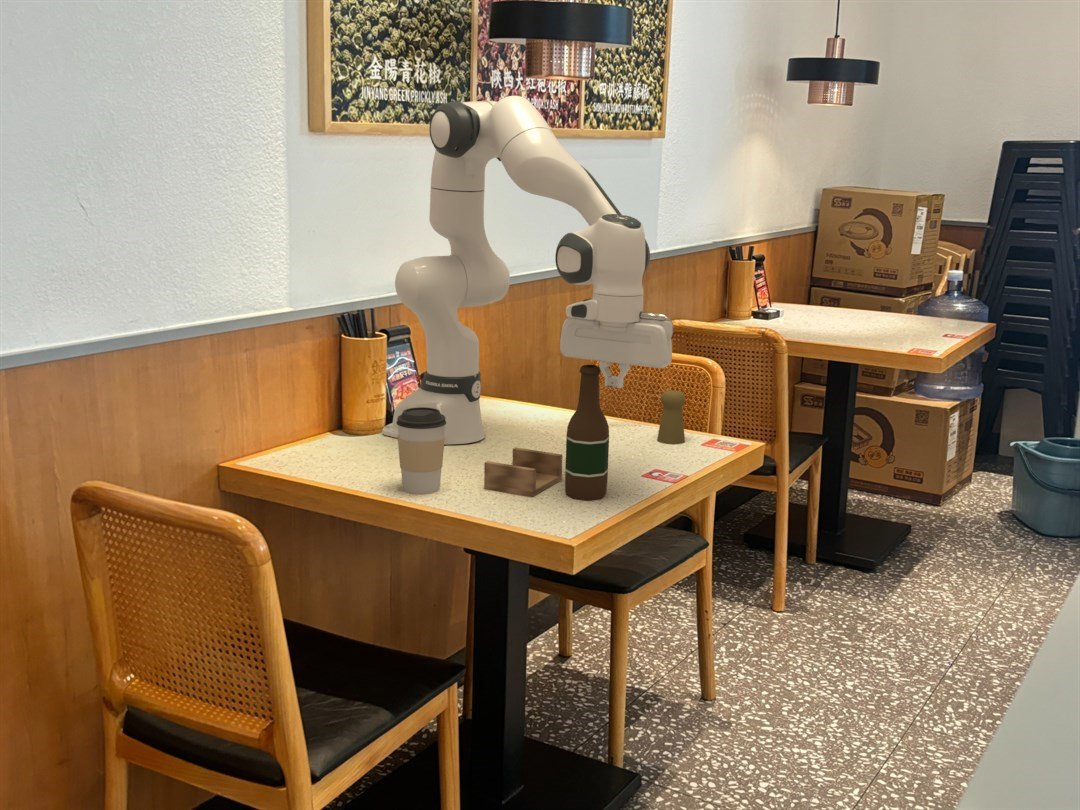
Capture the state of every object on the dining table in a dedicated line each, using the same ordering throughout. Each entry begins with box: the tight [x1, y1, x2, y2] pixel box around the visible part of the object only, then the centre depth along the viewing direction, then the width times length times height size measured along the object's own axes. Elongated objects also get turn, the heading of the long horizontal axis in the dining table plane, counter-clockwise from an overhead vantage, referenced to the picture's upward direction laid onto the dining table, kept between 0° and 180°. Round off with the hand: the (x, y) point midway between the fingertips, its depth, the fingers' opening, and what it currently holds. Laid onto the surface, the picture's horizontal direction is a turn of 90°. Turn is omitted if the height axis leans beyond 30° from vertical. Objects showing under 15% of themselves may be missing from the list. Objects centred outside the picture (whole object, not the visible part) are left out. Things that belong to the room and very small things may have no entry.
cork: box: [656, 389, 686, 445], centre depth 248 cm, size 6×6×11 cm
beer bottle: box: [564, 364, 610, 502], centre depth 208 cm, size 8×8×24 cm
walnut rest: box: [483, 447, 563, 498], centre depth 215 cm, size 10×12×5 cm
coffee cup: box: [396, 407, 446, 495], centre depth 210 cm, size 9×9×15 cm
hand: (613, 386), depth 203 cm, fingers closed
